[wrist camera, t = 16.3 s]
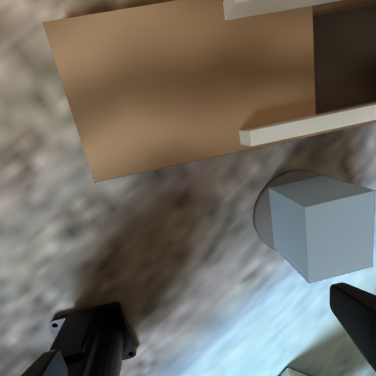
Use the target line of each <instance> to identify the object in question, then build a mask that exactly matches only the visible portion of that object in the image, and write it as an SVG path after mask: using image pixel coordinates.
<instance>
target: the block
mask: <svg viewBox="0 0 376 376" xmlns="http://www.w3.org/2000/svg"><path fill="white" fill-rule="evenodd" d="M375 196H376V190H372V189H369V188H365V187H362V186H358V185H354V184H351V183H347V182H344V181H340V180H336V179H333V178H329V177H326V176H318V177H314V178H310V179H305V180H301V181H297V182H292V183H288V184H284V185H279V186H275V187H271V188H269V198H270V208H271V218H272V228H273V238H274V248H275V249H276V250H277V251H278V252H279V253H280V254H281V255H282V256H283V257H284V258H285V259H286V260H287V261H288V262H289V263H290V264H291V265H292V267H293V268H294V269H295V270H296V271H297V272H298V273H299V274H300V275H301V276H302V277H303V278H304V279H305V280H306V281H307V282H308V283H313V282H317V281H321V280H324V279H328V278H332V277H336V276H340V275H343V274H347V273H351V272H355V271H358V270H362V269H366V268H370V267H373V244H374V220H375Z"/></svg>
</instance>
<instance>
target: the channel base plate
mask: <svg viewBox="0 0 376 376" xmlns="http://www.w3.org/2000/svg"><path fill="white" fill-rule="evenodd" d="M223 1H224V0H176V1H169V2H163V3H157V4H151V5H145V6H139V7H133V8H127V9H120V10H114V11H108V12H102V13H96V14H90V15H84V16H78V17H71V18H65V19H59V20H53V21H47V22H43V25H44V28H45V31H46V34H47V38H48V41H49V44H50V47H51V50H52V53H53V56H54V59H55V62H56V65H57V68H58V71H59V75H60V78H61V81H62V84H63V87H64V90H65V93H66V96H67V99H68V102H69V105H70V108H71V112H72V115H73V118H74V121H75V124H76V127H77V130H78V133H79V136H80V139H81V142H82V146H83V149H84V152H85V155H86V158H87V161H88V164H89V167H90V170H91V173H92V176H93V179H94V183H95V182H100V181H104V180H109V179H114V178H118V177H123V176H128V175H132V174H137V173H142V172H146V171H151V170H156V169H160V168H165V167H170V166H174V165H179V164H184V163H188V162H193V161H198V160H202V159H207V158H212V157H216V156H221V155H226V154H230V153H235V152H240V151H244V150H249V149H254V148H258V147H263V146H268V145H272V144H277V143H282V142H286V141H291V140H296V139H300V138H305V137H310V136H314V135H319V134H324V133H328V132H333V131H338V130H342V129H347V128H352V127H356V126H361V125H366V124H370V123H375V122H376V120H373V121H368V122H363V123H359V124H354V125H349V126H345V127H340V128H335V129H331V130H326V131H321V132H317V133H312V134H307V135H303V136H298V137H293V138H288V139H284V140H279V141H274V142H270V143H265V144H260V145H256V146H246V145H241V143H240V135H239V131H241V130H246V129H250V128H255V127H260V126H265V125H270V124H274V123H279V122H284V121H289V120H294V119H298V118H303V117H308V116H313V115H318V114H323V113H327V112H332V111H337V110H342V109H347V108H351V107H356V106H361V105H366V104H371V103H376V0H342V1H336V2H330V3H325V4H319V5H313V6H307V7H301V8H296V9H290V10H284V11H278V12H272V13H266V14H261V15H255V16H249V17H243V18H237V19H232V20H226V21H225V16H224V8H223Z"/></svg>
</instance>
